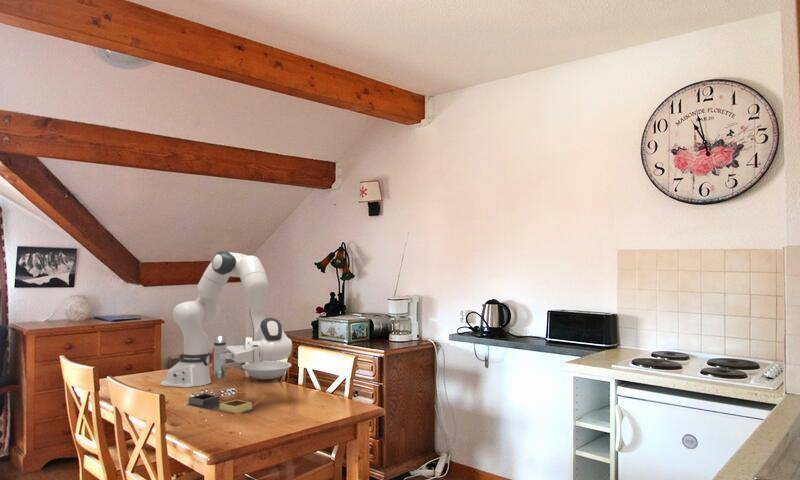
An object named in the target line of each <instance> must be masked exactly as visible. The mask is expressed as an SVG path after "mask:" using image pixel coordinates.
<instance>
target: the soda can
mask: <svg viewBox="0 0 800 480" xmlns="http://www.w3.org/2000/svg"><path fill="white" fill-rule="evenodd" d="M211 355H212V356H211V368H212V369H213V370H214V347H213V348H212V351H211Z"/></svg>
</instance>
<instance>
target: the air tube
mask: <svg viewBox="0 0 800 480" xmlns="http://www.w3.org/2000/svg"><path fill="white" fill-rule="evenodd" d="M213 339H214V340H213V348H214V369H213V376H214V377H213V378H214V379H223V378H226V377H227V359H220V358H219V354H226V346H227V336H226V335H223V334H221V335H215V336H214V337H213Z"/></svg>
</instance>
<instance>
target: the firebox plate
mask: <svg viewBox="0 0 800 480" xmlns="http://www.w3.org/2000/svg"><path fill="white" fill-rule="evenodd" d="M187 402H188V404H186V406H189V407H194V408H199V409H204V410H209V411H213V412H219V413H223V414H227V415H232V416H233V415H236V414H240V413H241V414H240V415H244V414H247V413H251V412H253V411H255V410H254V409H255V408H254V407H253V402H251V401H247V400H246V401H245V400H242V399H238V398H237V399H233V400H230V401H220V395H217V394H216V395H215V394H210V393H202V394H198V395H193V396H190V397H188V401H187Z"/></svg>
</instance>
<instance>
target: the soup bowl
mask: <svg viewBox="0 0 800 480" xmlns="http://www.w3.org/2000/svg"><path fill="white" fill-rule="evenodd" d="M292 366H293V365H292V363H290V362H287V361H282V360H278V361H264V362H260V363H256V364H254V363H243V364H242V365H241V368H242V369H243V370H245V372H246V374H247V375H248V376H250V377H251V378H254V379H257V380H273V379H278V378H280V377H282V376H283V375H284V374H286V372H287V371H288V369H289V368H291V367H292Z"/></svg>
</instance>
